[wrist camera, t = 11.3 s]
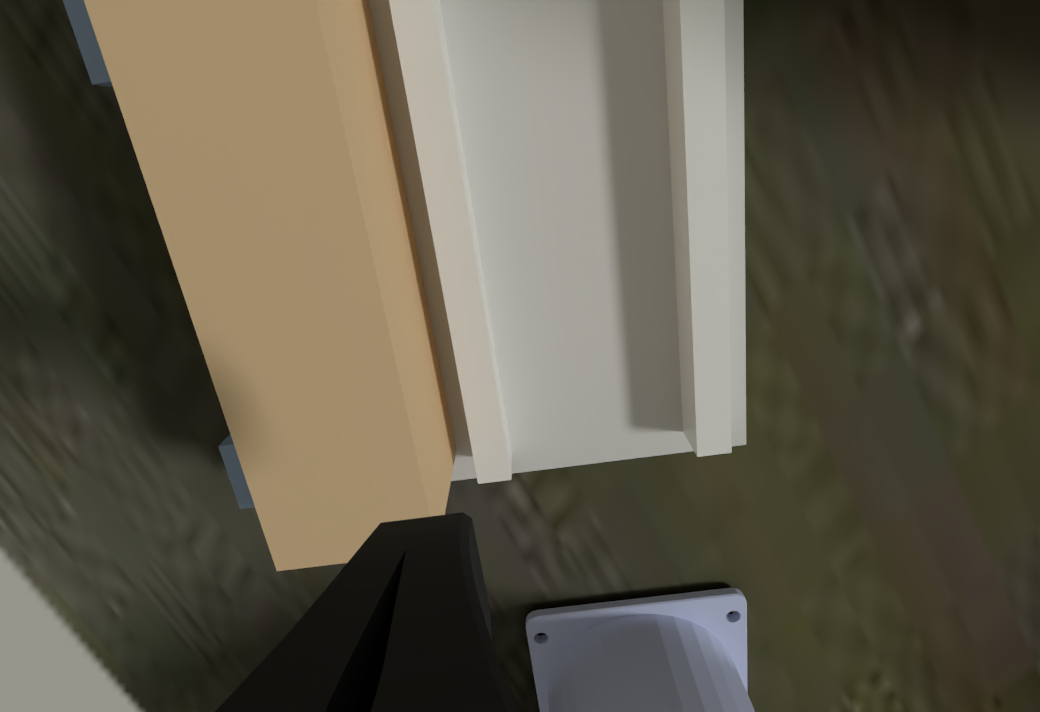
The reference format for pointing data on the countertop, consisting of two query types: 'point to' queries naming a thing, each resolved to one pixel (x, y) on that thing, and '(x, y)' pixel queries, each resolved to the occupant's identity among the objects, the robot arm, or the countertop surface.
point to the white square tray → (568, 221)
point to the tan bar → (291, 255)
